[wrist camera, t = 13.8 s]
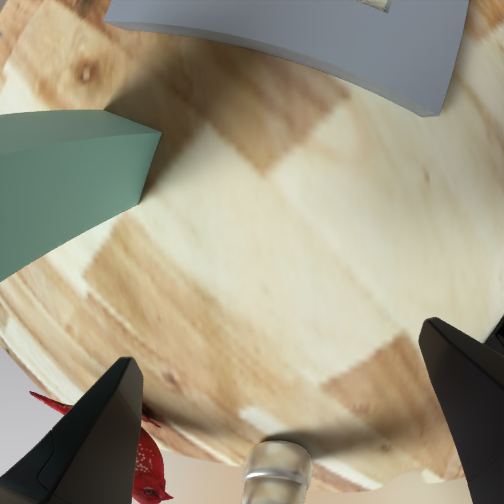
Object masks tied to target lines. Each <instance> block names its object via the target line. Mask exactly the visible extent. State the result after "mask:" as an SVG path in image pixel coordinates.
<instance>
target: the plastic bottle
mask: <svg viewBox="0 0 504 504" xmlns="http://www.w3.org/2000/svg"><path fill="white" fill-rule="evenodd" d="M312 473H313V466H312V459H311V456H310V455H309V453H308V452H307V451H306V450H305V448H303V447H302V446H300V445H298V444H295V443H292V442H288V441H278V440H275V441H266V442H262V443H260V444H258V445H256V446H255V447H254V448H253V449H251V450H250V452H249V453H248V455H247V458H246V460H245V462H244V467H243V483H244V485H243V492H242V499H241V504H304V501H305V496H306V491H307V489H308V487H309V484H310V481H311V477H312Z"/></svg>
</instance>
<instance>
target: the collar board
mask: <svg viewBox="0 0 504 504" xmlns="http://www.w3.org/2000/svg"><path fill="white" fill-rule="evenodd" d="M468 3H469V0H388V1H387V4H386V7H385V10H384V12H383V11H381V10H378V9H376V8H374V7H371V6H369V5H366V4H364V3H361V2H359V1H356V0H112V1H111V3H110V6H109V8H108V11H107V13H106V15H105V18H104V21H103V22H106V23H109V24H111V25H114V26H116V27H119V28H121V29H124V30H133V31H146V32H157V33H166V34H174V35H181V36H188V37H194V38H200V39H206V40H211V41H216V42H221V43H226V44H231V45H235V46H239V47H244V48H248V49H252V50H256V51H259V52H263V53H267V54H270V55H274V56H277V57H281V58H284V59H287V60H291V61H294V62H297V63H300V64H303V65H306V66H309V67H312V68H314V69H317V70H320V71H323V72H325V73H328V74H331V75H333V76H336V77H338V78H341V79H343V80H346V81H348V82H351V83H353V84H355V85H358V86H360V87H362V88H365V89H367V90H369V91H371V92H374V93H376V94H378V95H380V96H382V97H384V98H386V99H388V100H390V101H392V102H394V103H396V104H398V105H400V106H402V107H404V108H406V109H408V110H410V111H412V112H414V113H415V114H417V115H419V116H421V117H430V116H439V114H440V111H441V108H442V105H443V102H444V99H445V96H446V93H447V90H448V86H449V83H450V80H451V76H452V73H453V69H454V65H455V62H456V58H457V54H458V50H459V46H460V42H461V38H462V33H463V29H464V24H465V19H466V14H467V9H468Z"/></svg>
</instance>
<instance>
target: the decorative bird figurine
mask: <svg viewBox="0 0 504 504" xmlns="http://www.w3.org/2000/svg"><path fill="white" fill-rule="evenodd" d="M30 394H31V395H33V396H34V397H36V398H37V399H39V400H40V401H42V402H43V403H45V404H47V405H48V406H50V407H51V408H53V409H55V410H57V411H59V412H60V413H62V414H63V415H65V414H66V413H67V412H68V411H69V410H70V409H71V408H72V407H73V405H66V404H62V403H60V402H57V401H54V400H52V399H49V398H47V397H45V396H42V395H39V394H37V393H34V392H31V391H30ZM141 420H143V421H145V422H150V423H152V424H154V425H155V426H157V427H160V426H158V425H157V424H155V423H154V422H153V421H151V420H150V419H149V417H148V416H146V415H145V414H142V419H141ZM160 428H161V427H160ZM165 482H166V481H165V479H164V464H163V458H162V455H161V453H160V451H159V448H158V446H157V444H156V443H155V441H154V440H153V439H152V438H151V436H150V435H149V434H148V433H147V432H146V431H145V430H144V429H143V428H142V427H141V429H140V436H139V443H138V450H137V457H136V465H135V474H134V483H133V492H132V497H133V498H134V499H135V500H137V501H138V502H139V503H140V504H159V503H160V502H161V501H163V500H169V499H173V497H171V496H170V495H168V494H167V493H166V492H165V484H166V483H165Z"/></svg>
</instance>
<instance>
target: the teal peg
mask: <svg viewBox="0 0 504 504" xmlns="http://www.w3.org/2000/svg"><path fill="white" fill-rule="evenodd" d="M161 134H162V132H160V131H157V130H155V129H152V128H150V127H147V126H145V125H142V124H140V123H137V122H134V121H132V120H129V119H126V118H124V117H121V116H118V115H116V114H113V113H110V112H107V111H105V110H56V111H38V112H24V113H13V114H4V115H0V282H1V281H3V280H4V279H6V278H7V277H9V276H11V275H12V274H14V273H15V272H17V271H18V270H20V269H22V268H23V267H25V266H26V265H28V264H30V263H31V262H33V261H35V260H36V259H38V258H40V257H41V256H43V255H45V254H46V253H48V252H50V251H52V250H53V249H55V248H57V247H58V246H60V245H62V244H64V243H66V242H67V241H69V240H71V239H73V238H74V237H76V236H78V235H80V234H82V233H84V232H85V231H87V230H89V229H91V228H93V227H95V226H97V225H99V224H100V223H102V222H104V221H106V220H108V219H110V218H112V217H114V216H116V215H118V214H120V213H122V212H124V211H126V210H128V209H130V208H132V207H134V206H136V205H138V204H139V200H140V197H141V194H142V190H143V187H144V184H145V181H146V178H147V175H148V172H149V169H150V166H151V163H152V160H153V157H154V154H155V151H156V148H157V145H158V143H159V140H160V137H161Z"/></svg>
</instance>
